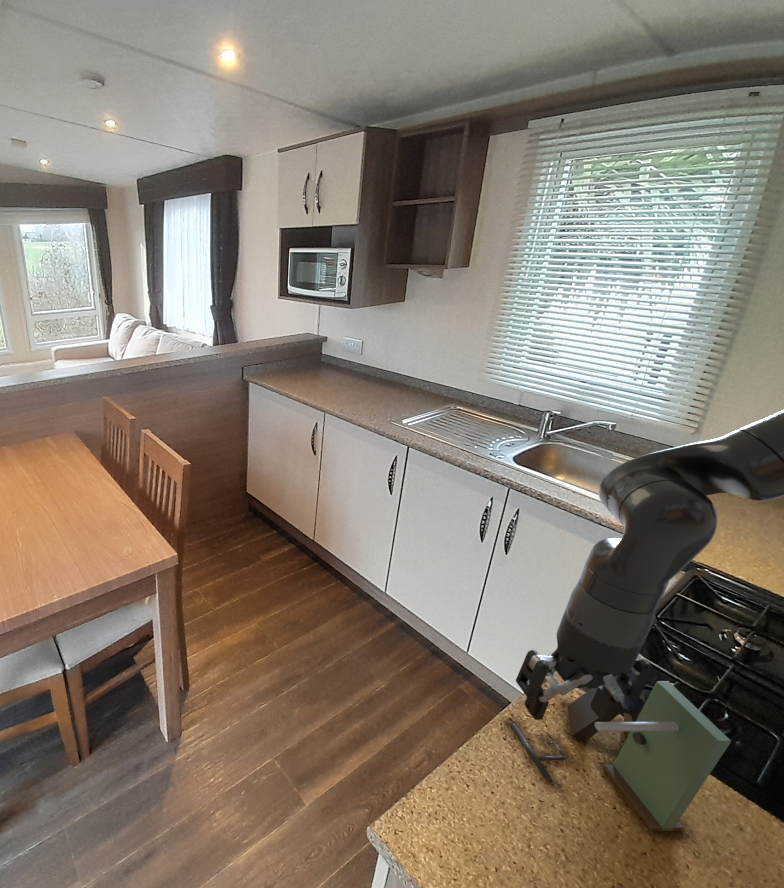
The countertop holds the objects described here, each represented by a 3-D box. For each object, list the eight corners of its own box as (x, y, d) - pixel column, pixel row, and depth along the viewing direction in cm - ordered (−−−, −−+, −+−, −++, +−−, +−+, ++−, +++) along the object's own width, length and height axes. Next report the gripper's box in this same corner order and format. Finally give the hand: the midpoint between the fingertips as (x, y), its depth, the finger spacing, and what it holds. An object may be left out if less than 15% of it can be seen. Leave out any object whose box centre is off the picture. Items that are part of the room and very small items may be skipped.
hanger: (546, 784, 67) (583, 784, 67) (548, 780, 67) (585, 780, 67) (507, 725, 75) (540, 725, 75) (509, 721, 75) (541, 721, 75)
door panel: (680, 833, 61) (743, 741, 54) (584, 833, 62) (633, 741, 54) (629, 769, 69) (678, 680, 61) (543, 769, 69) (581, 681, 62)
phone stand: (569, 738, 73) (594, 682, 68) (566, 707, 78) (589, 653, 73) (646, 768, 69) (679, 711, 64) (638, 734, 73) (668, 679, 68)
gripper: (566, 647, 54) (529, 741, 61) (694, 645, 54) (644, 740, 60) (524, 600, 61) (496, 689, 67) (638, 598, 60) (598, 688, 67)
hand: (566, 713), depth 64 cm, fingers open, 8 cm apart
